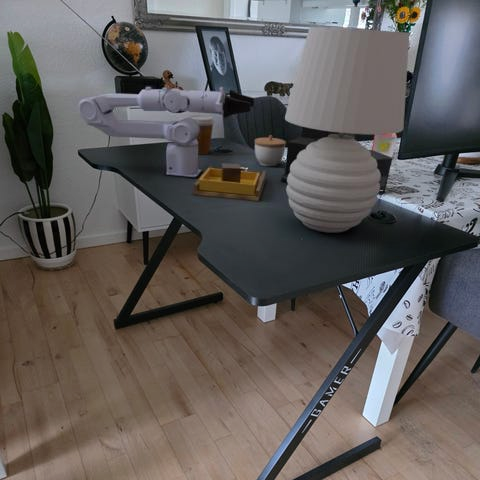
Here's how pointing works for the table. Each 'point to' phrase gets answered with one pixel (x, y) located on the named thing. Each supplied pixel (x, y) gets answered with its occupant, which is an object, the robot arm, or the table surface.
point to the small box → (382, 168)
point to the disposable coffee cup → (204, 133)
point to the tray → (214, 183)
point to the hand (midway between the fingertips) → (252, 104)
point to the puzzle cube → (384, 143)
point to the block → (230, 172)
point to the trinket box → (269, 150)
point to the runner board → (232, 195)
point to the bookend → (302, 145)
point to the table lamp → (344, 121)
